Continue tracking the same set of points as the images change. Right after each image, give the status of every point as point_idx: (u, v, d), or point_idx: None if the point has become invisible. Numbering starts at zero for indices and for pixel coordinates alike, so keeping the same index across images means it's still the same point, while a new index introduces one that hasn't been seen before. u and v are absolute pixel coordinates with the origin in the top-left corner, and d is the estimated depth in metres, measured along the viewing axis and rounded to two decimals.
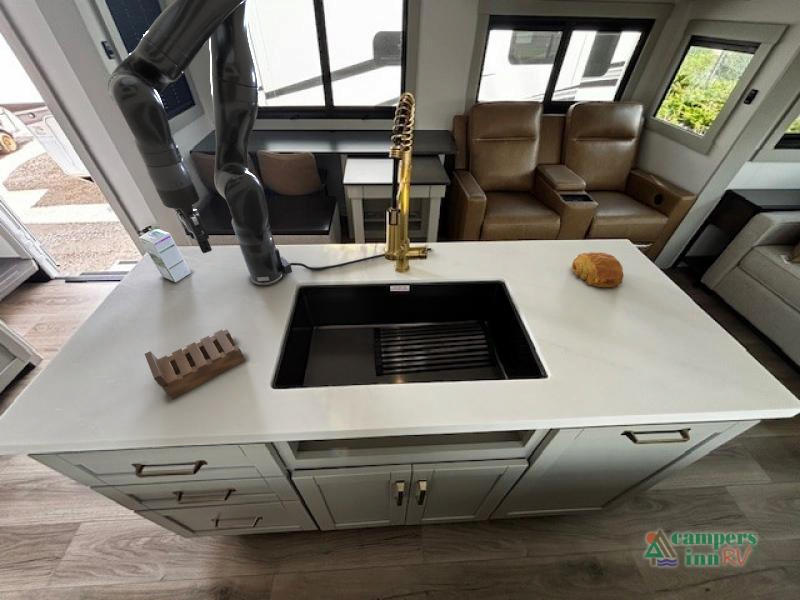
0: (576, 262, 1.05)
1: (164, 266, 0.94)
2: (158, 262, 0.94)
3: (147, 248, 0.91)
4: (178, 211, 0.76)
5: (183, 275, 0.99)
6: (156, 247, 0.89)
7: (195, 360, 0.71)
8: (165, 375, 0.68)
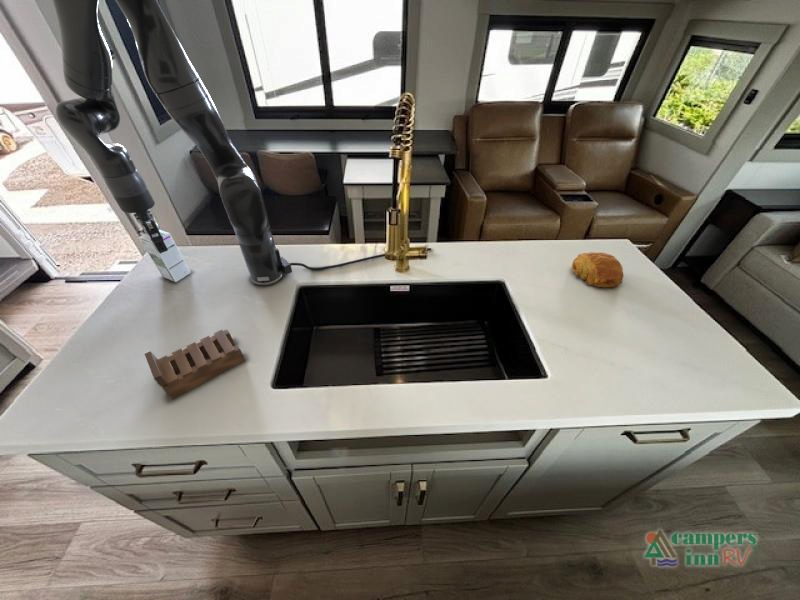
0: (576, 262, 1.05)
1: (164, 266, 0.94)
2: (158, 262, 0.94)
3: (147, 248, 0.91)
4: (136, 215, 0.86)
5: (183, 275, 0.99)
6: None
7: (195, 360, 0.71)
8: (165, 375, 0.68)
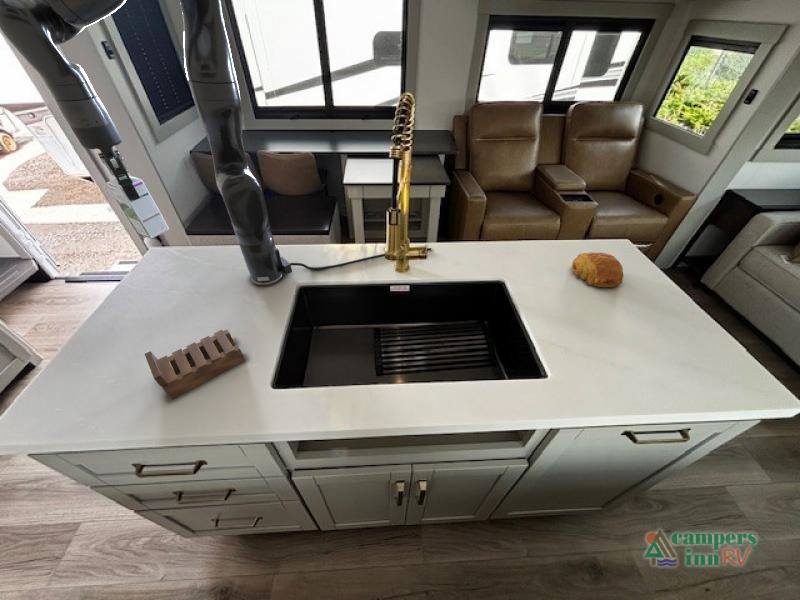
0: (576, 262, 1.05)
1: (137, 218, 0.82)
2: (129, 214, 0.83)
3: (116, 196, 0.80)
4: (100, 155, 0.75)
5: (160, 231, 0.88)
6: None
7: (195, 360, 0.71)
8: (165, 375, 0.68)
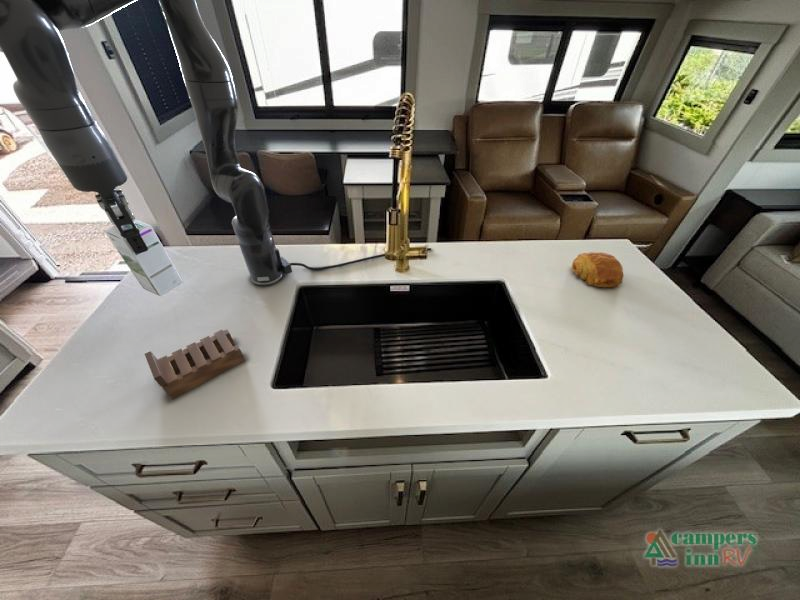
0: (576, 262, 1.05)
1: (143, 273, 0.64)
2: (134, 267, 0.64)
3: (117, 247, 0.62)
4: (98, 197, 0.56)
5: (172, 286, 0.70)
6: (130, 246, 0.60)
7: (195, 360, 0.71)
8: (165, 375, 0.68)
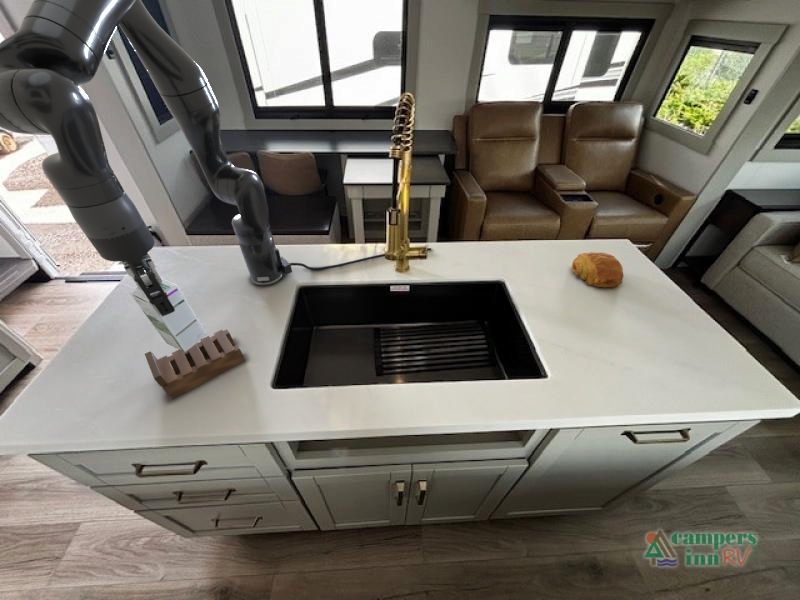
0: (576, 262, 1.05)
1: (169, 332, 0.62)
2: (159, 326, 0.62)
3: (143, 308, 0.60)
4: (125, 261, 0.55)
5: (196, 340, 0.68)
6: (156, 309, 0.58)
7: (195, 360, 0.71)
8: (165, 375, 0.68)
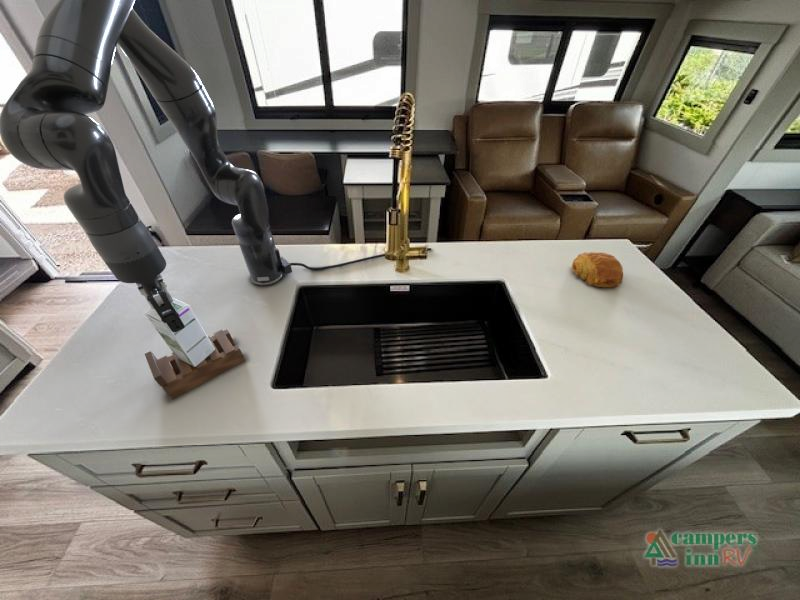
0: (576, 262, 1.05)
1: (180, 349, 0.66)
2: (171, 343, 0.66)
3: (156, 326, 0.63)
4: None
5: (205, 355, 0.71)
6: (169, 328, 0.61)
7: None
8: (165, 375, 0.68)
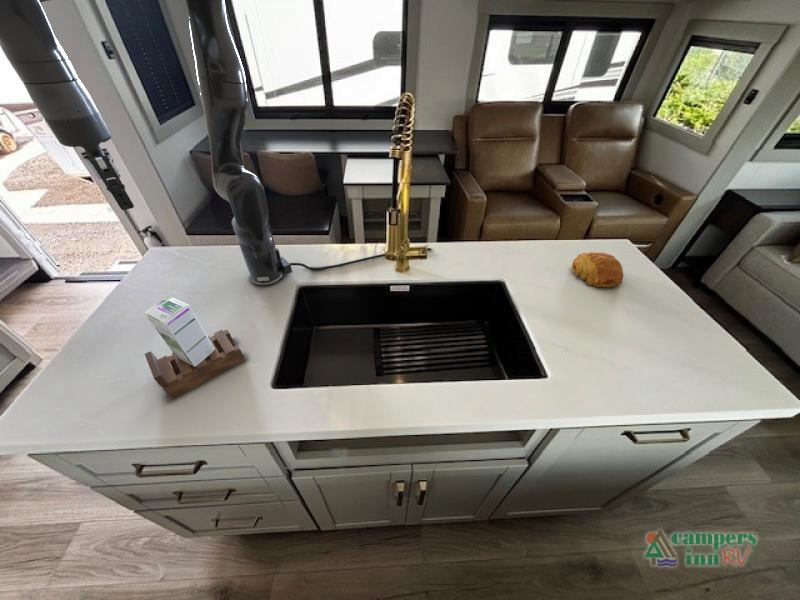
0: (576, 262, 1.05)
1: (180, 349, 0.66)
2: (171, 343, 0.66)
3: (156, 326, 0.63)
4: (84, 154, 0.59)
5: (205, 355, 0.71)
6: (169, 328, 0.61)
7: None
8: (165, 375, 0.68)
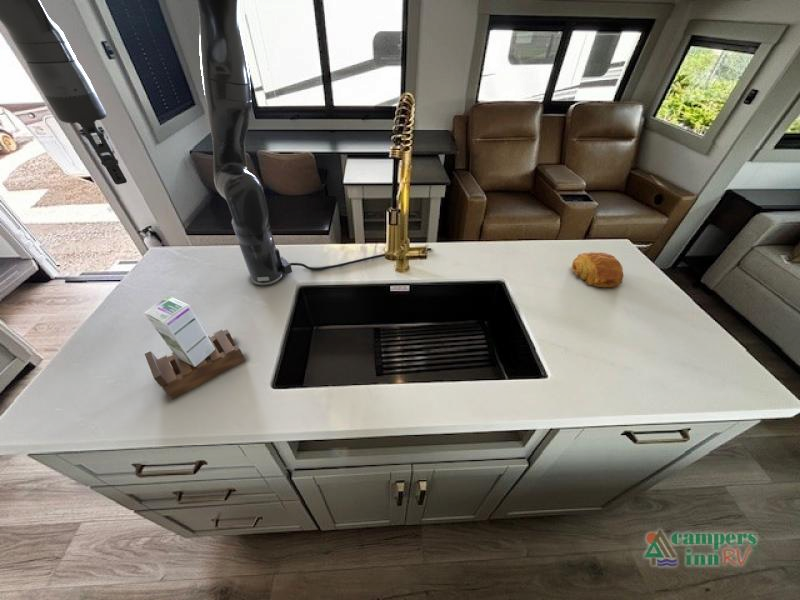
0: (576, 262, 1.05)
1: (180, 349, 0.66)
2: (171, 343, 0.66)
3: (156, 326, 0.63)
4: (81, 131, 0.65)
5: (205, 355, 0.71)
6: (169, 328, 0.61)
7: None
8: (165, 375, 0.68)
